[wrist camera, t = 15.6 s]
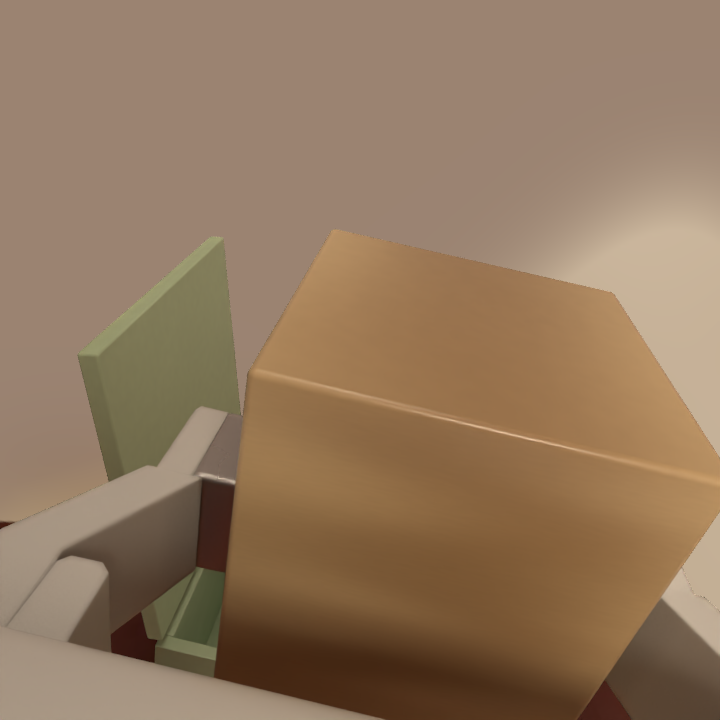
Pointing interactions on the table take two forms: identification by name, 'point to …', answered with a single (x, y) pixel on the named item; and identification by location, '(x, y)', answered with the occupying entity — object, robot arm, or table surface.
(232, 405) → the box lid
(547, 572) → the block
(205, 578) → the box
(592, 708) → the table surface
